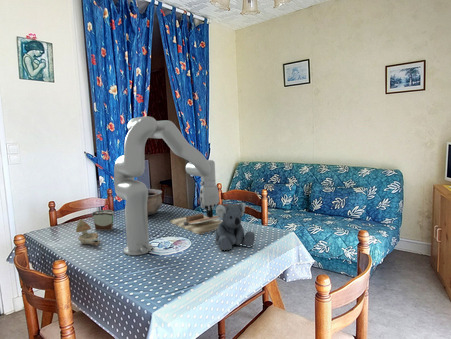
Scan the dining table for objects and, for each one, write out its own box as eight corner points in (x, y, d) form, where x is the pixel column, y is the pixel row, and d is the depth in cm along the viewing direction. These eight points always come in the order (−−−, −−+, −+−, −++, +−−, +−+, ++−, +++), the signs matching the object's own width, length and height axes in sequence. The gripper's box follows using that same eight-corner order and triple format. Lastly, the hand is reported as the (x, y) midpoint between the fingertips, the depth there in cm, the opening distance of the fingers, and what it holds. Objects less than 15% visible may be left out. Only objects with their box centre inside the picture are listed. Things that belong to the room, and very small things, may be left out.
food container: (119, 226, 177) (118, 209, 176) (114, 230, 171) (113, 212, 170) (98, 226, 178) (97, 209, 177) (92, 230, 172) (91, 212, 171)
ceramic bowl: (153, 208, 217) (152, 187, 215) (169, 214, 201) (168, 191, 199) (122, 214, 203) (120, 192, 202) (136, 221, 187) (135, 196, 185)
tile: (208, 217, 182) (208, 219, 182) (187, 221, 173) (188, 224, 173) (220, 215, 172) (221, 217, 172) (199, 219, 163) (200, 222, 163)
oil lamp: (90, 235, 163) (88, 217, 162) (106, 246, 147) (105, 225, 146) (72, 240, 157) (71, 220, 156) (87, 251, 141) (85, 229, 140)
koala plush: (221, 253, 134) (219, 209, 132) (207, 240, 151) (206, 200, 148) (257, 247, 141) (256, 204, 138) (240, 235, 157) (239, 197, 155)
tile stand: (229, 226, 172) (229, 218, 171) (199, 234, 160) (198, 226, 159) (198, 216, 195) (198, 209, 195) (170, 222, 183) (170, 215, 182)
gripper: (200, 186, 159) (202, 221, 161) (223, 182, 168) (225, 215, 170) (192, 184, 165) (194, 218, 167) (215, 180, 174) (216, 213, 176)
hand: (209, 216), depth 169 cm, fingers closed
